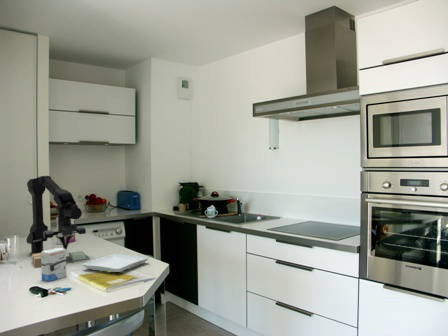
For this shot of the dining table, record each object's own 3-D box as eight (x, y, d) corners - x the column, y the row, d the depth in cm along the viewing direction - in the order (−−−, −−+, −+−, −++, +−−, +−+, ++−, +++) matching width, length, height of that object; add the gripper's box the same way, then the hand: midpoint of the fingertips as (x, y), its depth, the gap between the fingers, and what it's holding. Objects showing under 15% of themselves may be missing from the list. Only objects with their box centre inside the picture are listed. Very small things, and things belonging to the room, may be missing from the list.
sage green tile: (80, 250, 195) (81, 255, 195) (68, 251, 191) (68, 256, 192) (85, 253, 187) (85, 258, 187) (72, 255, 184) (72, 260, 184)
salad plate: (114, 259, 186) (114, 252, 186) (149, 264, 177) (149, 256, 177) (80, 271, 167) (80, 263, 167) (118, 277, 158) (118, 268, 158)
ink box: (48, 282, 152) (47, 252, 152) (41, 280, 155) (40, 251, 154) (67, 276, 159) (66, 248, 159) (60, 274, 162) (59, 247, 162)
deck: (32, 262, 184) (31, 254, 184) (60, 258, 191) (60, 250, 191) (35, 267, 174) (34, 259, 174) (65, 263, 181) (65, 254, 181)
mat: (59, 257, 191) (59, 257, 191) (84, 254, 198) (84, 253, 198) (64, 263, 181) (64, 262, 181) (90, 259, 187) (90, 258, 187)
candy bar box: (68, 240, 234) (67, 214, 234) (75, 240, 233) (74, 214, 233) (56, 244, 223) (55, 216, 223) (64, 245, 222) (63, 216, 222)
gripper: (45, 222, 174) (47, 256, 175) (88, 218, 184) (89, 250, 185) (42, 219, 184) (43, 251, 184) (82, 215, 194) (83, 246, 194)
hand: (65, 249), depth 186 cm, fingers closed
